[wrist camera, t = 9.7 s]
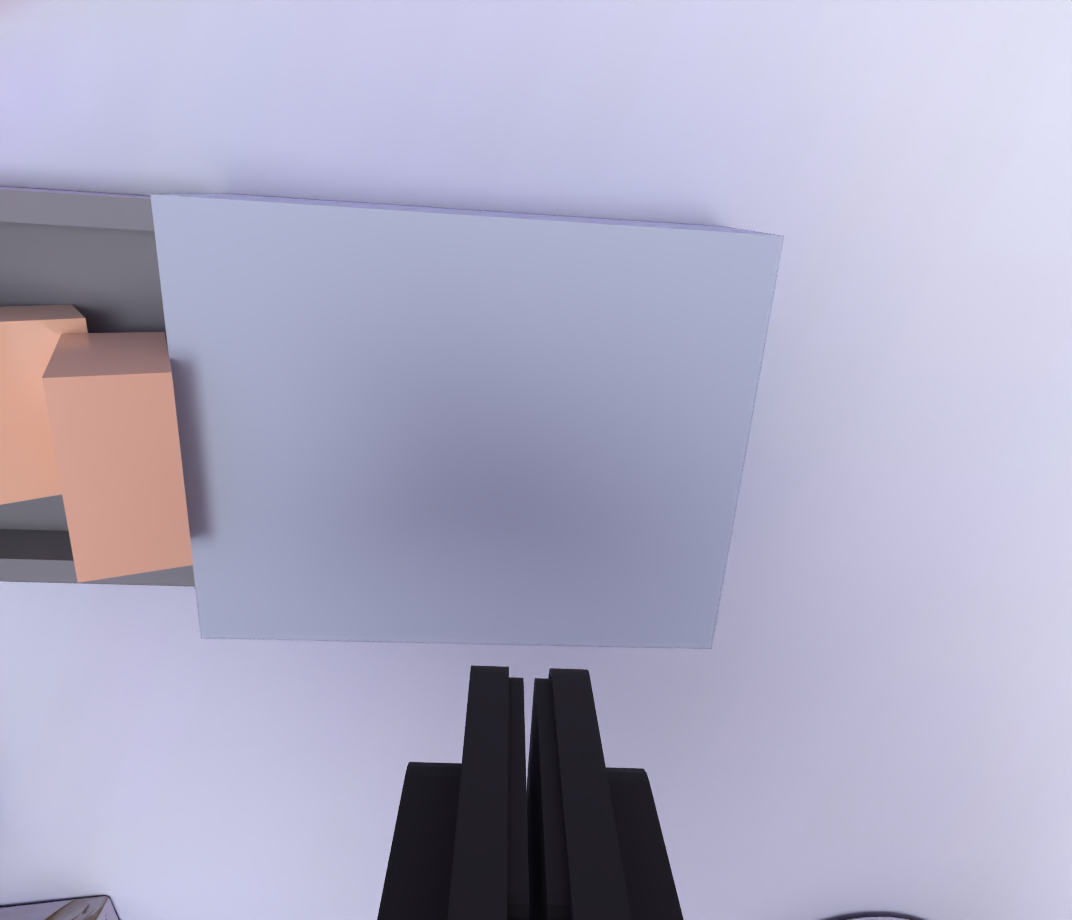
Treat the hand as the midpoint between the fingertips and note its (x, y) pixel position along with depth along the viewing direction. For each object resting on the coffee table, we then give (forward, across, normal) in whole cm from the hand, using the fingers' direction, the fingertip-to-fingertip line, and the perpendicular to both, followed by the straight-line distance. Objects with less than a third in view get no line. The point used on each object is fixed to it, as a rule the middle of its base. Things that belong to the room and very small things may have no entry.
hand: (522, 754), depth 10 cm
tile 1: (+10, +9, -1) cm, 14 cm away
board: (+15, +2, -2) cm, 15 cm away
